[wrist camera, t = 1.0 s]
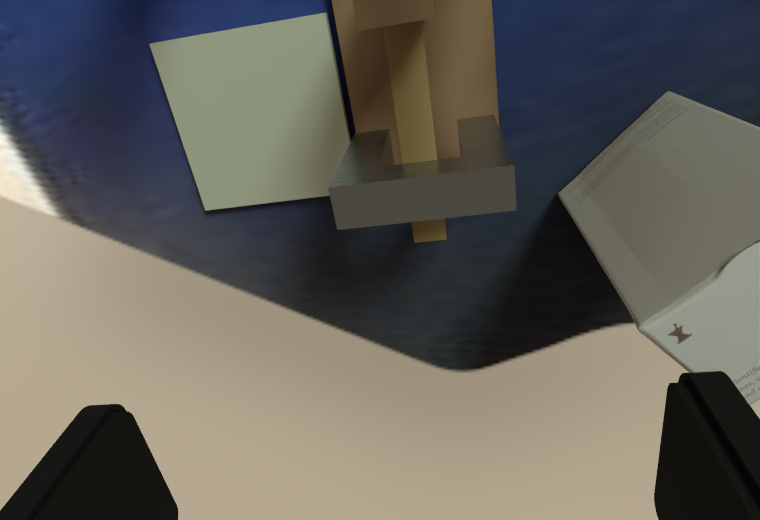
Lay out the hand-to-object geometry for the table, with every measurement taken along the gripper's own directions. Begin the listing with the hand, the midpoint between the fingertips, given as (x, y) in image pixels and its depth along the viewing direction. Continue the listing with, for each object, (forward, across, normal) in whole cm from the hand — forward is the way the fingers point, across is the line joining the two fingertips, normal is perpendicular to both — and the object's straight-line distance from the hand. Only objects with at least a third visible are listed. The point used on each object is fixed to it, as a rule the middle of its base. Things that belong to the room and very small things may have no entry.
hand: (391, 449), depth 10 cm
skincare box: (+24, -12, +5) cm, 28 cm away
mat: (+24, +9, -1) cm, 26 cm away
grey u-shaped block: (+20, 0, 0) cm, 20 cm away
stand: (+24, 0, -3) cm, 24 cm away
